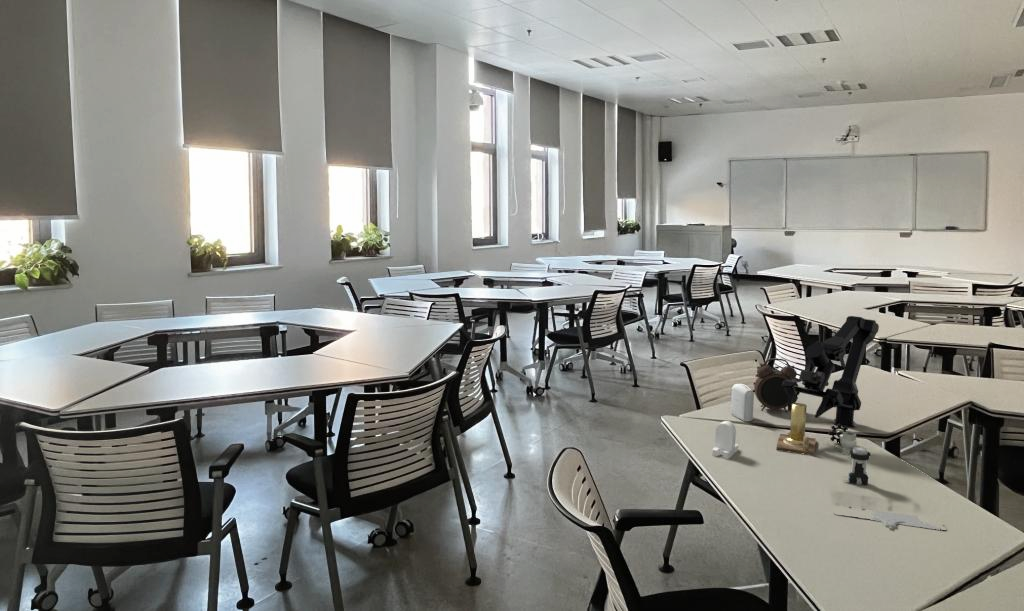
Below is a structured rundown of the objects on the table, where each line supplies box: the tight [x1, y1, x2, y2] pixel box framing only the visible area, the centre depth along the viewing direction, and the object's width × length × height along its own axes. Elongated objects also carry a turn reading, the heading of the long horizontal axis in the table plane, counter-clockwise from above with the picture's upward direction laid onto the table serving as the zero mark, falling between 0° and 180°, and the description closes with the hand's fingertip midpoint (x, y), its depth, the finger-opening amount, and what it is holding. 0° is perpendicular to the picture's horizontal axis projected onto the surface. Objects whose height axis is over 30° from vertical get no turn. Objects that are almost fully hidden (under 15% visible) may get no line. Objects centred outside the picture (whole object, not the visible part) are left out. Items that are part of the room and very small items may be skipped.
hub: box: [785, 402, 807, 446], centre depth 230 cm, size 9×7×12 cm
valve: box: [827, 424, 857, 456], centre depth 226 cm, size 7×7×12 cm
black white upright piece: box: [842, 446, 872, 486], centre depth 199 cm, size 7×5×10 cm
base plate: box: [775, 433, 816, 456], centre depth 229 cm, size 14×11×5 cm
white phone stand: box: [711, 420, 739, 460], centre depth 223 cm, size 5×10×10 cm, turn 145°
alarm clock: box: [753, 357, 798, 413], centre depth 265 cm, size 15×7×20 cm, turn 80°
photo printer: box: [730, 383, 755, 422], centre depth 258 cm, size 10×4×12 cm, turn 12°
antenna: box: [854, 507, 944, 531], centre depth 183 cm, size 25×24×1 cm
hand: (802, 414), depth 230 cm, fingers open, 9 cm apart
